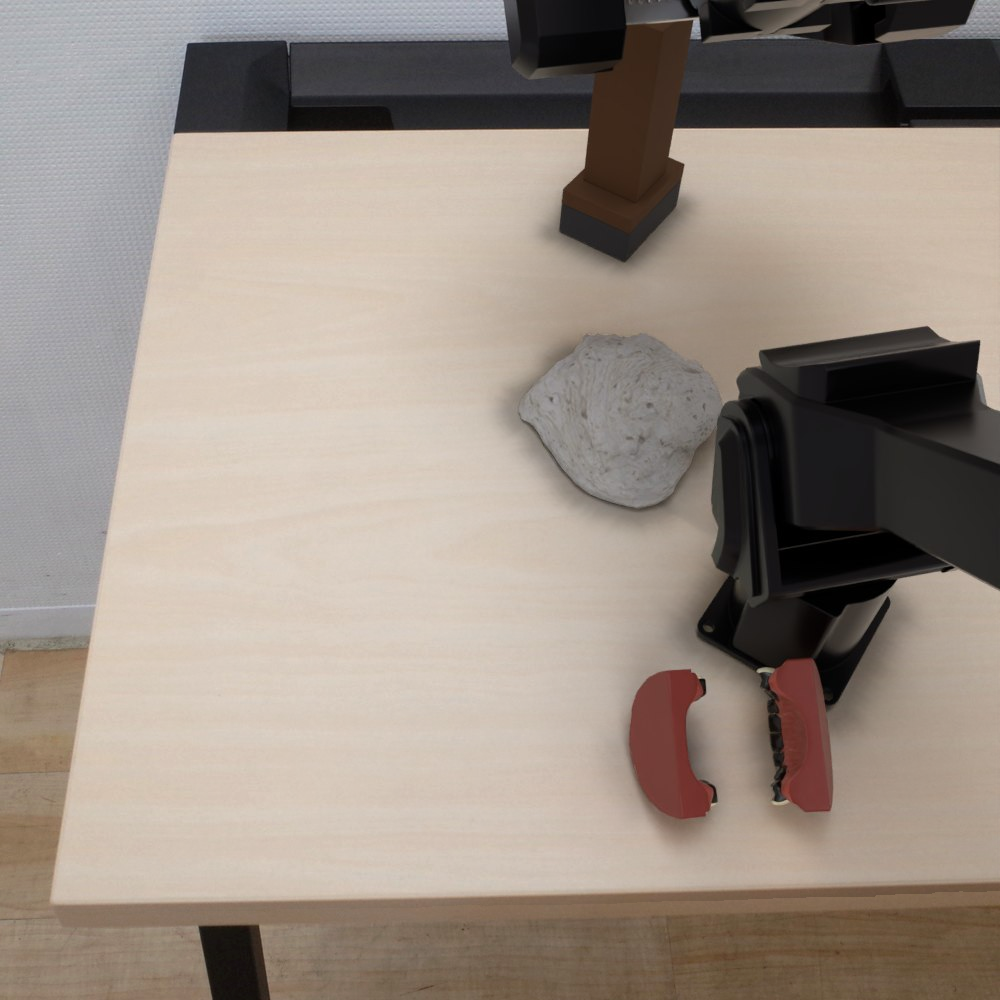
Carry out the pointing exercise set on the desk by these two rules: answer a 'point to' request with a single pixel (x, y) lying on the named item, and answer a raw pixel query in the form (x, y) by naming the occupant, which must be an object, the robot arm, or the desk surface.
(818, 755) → the false teeth
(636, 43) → the stamp
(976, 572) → the robot arm
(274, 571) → the desk surface
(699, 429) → the stone
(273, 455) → the desk surface
